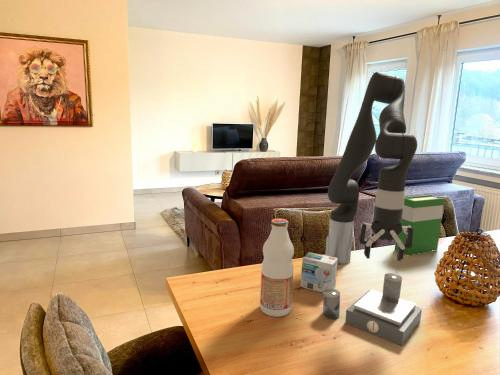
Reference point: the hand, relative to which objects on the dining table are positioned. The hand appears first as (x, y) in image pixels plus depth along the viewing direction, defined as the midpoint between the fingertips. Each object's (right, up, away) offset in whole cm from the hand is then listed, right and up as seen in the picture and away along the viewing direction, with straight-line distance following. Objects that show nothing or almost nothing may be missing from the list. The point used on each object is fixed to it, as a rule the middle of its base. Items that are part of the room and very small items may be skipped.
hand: (382, 259), depth 108 cm
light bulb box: (-15, -14, +21) cm, 29 cm away
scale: (0, -18, 0) cm, 18 cm away
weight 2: (+3, -12, +3) cm, 13 cm away
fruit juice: (-31, -16, +5) cm, 35 cm away
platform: (0, -14, 0) cm, 14 cm away
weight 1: (-14, -17, +3) cm, 22 cm away
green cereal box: (+36, -7, +59) cm, 69 cm away
